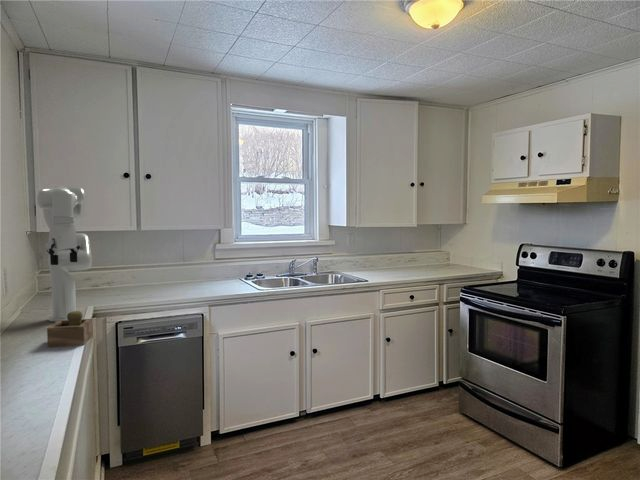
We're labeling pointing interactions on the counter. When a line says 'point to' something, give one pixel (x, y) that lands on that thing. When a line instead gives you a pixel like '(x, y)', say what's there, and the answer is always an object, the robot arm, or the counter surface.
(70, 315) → the cork
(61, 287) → the robot arm
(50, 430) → the counter surface
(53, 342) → the box
